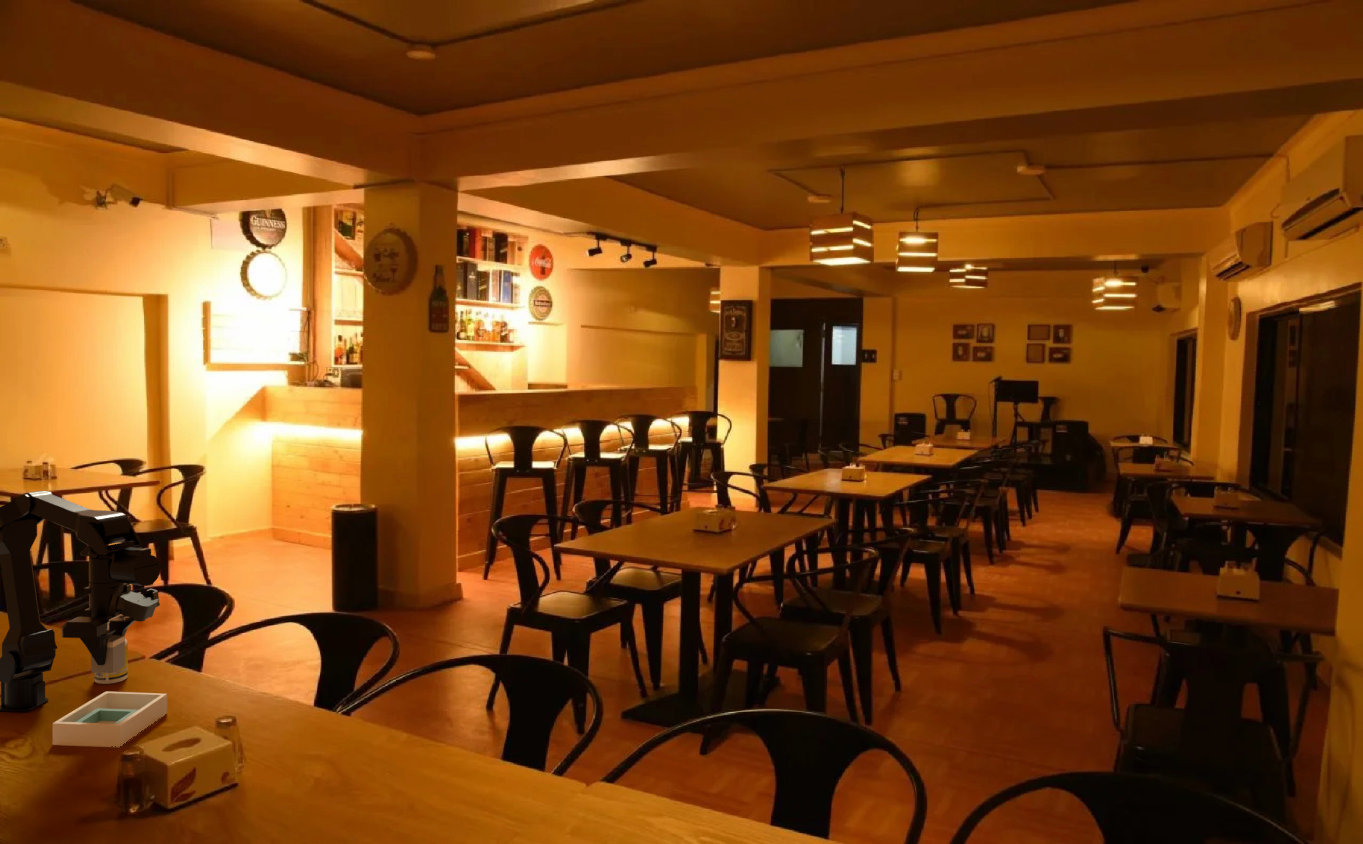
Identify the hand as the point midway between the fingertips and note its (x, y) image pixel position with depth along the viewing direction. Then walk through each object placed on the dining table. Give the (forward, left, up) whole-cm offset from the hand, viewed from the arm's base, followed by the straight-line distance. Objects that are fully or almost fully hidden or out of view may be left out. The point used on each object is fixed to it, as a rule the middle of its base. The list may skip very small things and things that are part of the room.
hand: (107, 661), depth 177 cm
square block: (0, 0, -2) cm, 2 cm away
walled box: (+2, -1, -12) cm, 13 cm away
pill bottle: (-13, +24, -13) cm, 30 cm away
